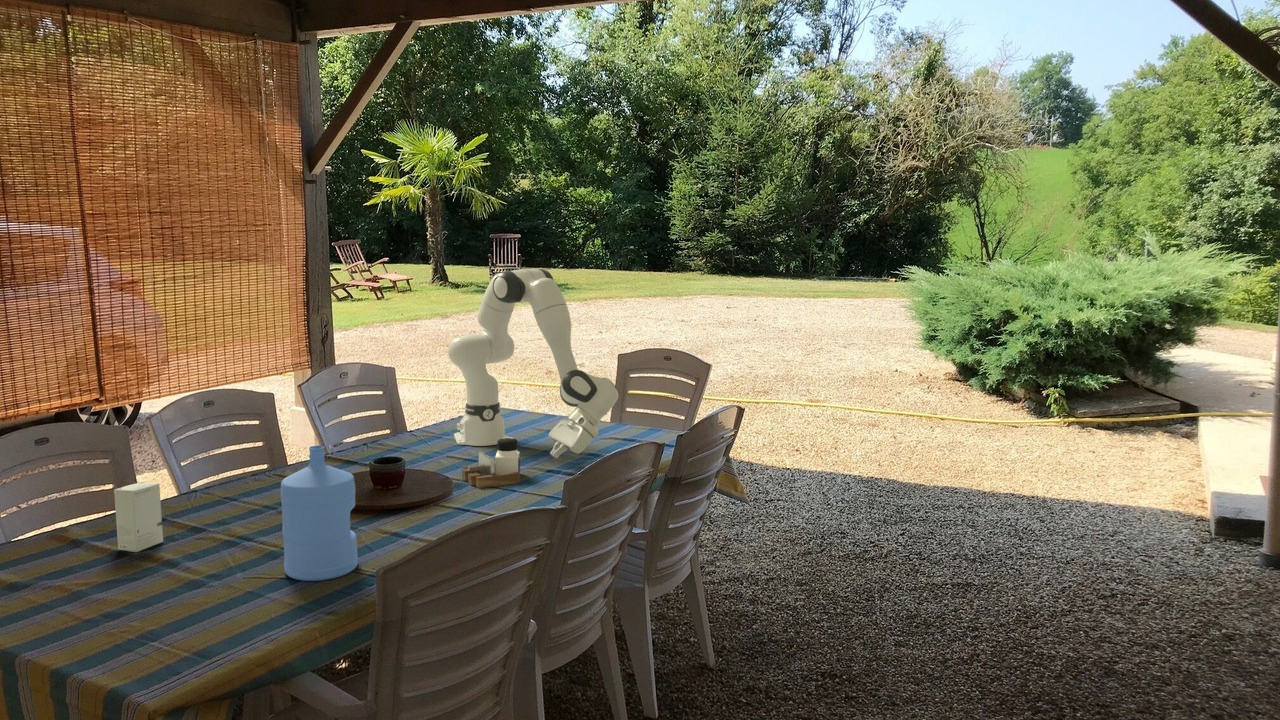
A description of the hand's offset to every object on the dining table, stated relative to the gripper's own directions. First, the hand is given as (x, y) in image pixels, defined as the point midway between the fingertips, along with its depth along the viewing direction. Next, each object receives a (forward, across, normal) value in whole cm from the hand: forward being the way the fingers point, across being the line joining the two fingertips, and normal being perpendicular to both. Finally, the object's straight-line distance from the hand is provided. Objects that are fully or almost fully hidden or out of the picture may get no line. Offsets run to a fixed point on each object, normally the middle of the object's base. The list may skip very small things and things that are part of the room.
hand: (552, 456), depth 287 cm
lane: (+18, 0, -11) cm, 21 cm away
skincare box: (+84, +19, -77) cm, 116 cm away
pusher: (+20, 0, -14) cm, 25 cm away
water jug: (+59, +54, -51) cm, 95 cm away
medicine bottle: (+14, -1, -7) cm, 16 cm away
